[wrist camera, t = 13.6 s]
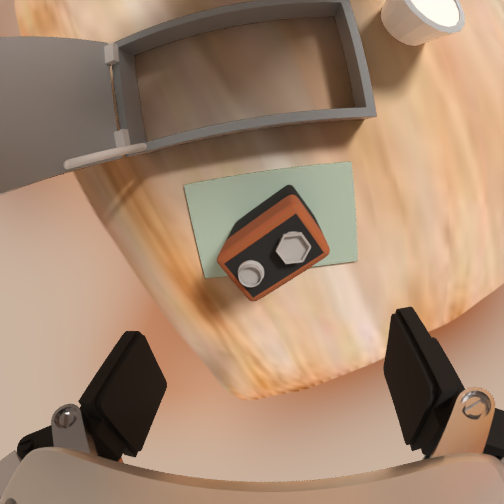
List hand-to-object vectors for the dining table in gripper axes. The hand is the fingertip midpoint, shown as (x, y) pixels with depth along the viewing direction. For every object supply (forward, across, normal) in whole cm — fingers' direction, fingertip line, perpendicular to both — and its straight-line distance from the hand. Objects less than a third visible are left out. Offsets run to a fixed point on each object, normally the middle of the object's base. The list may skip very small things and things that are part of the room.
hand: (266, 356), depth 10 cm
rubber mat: (+19, 0, +1) cm, 19 cm away
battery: (+19, 0, 0) cm, 19 cm away
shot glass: (+20, -17, -19) cm, 32 cm away
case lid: (+5, +15, -15) cm, 22 cm away
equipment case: (+19, +1, -14) cm, 24 cm away
